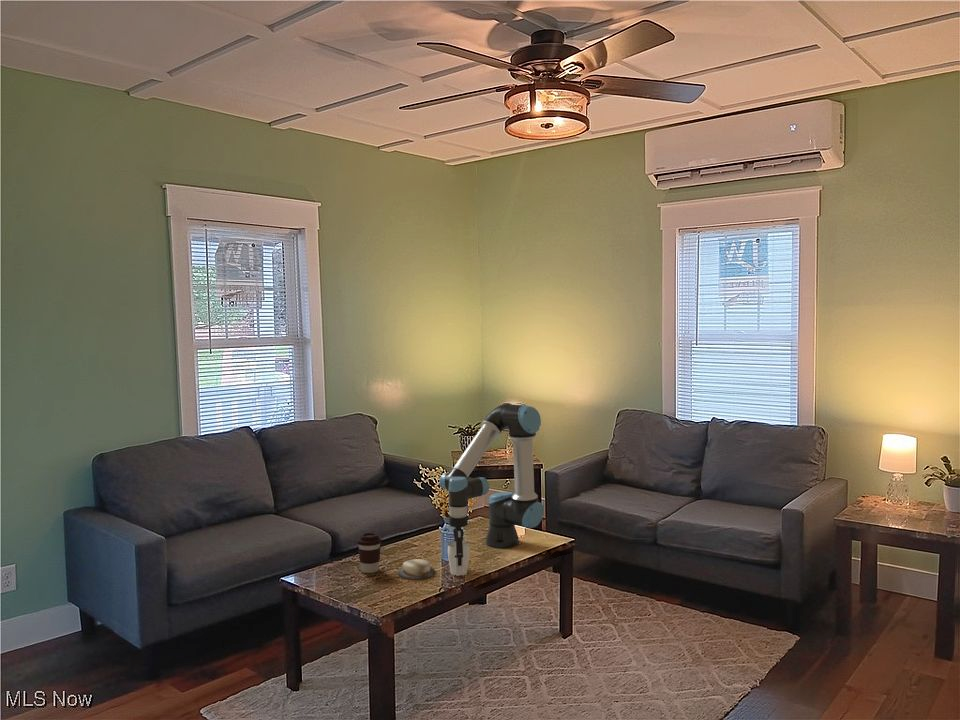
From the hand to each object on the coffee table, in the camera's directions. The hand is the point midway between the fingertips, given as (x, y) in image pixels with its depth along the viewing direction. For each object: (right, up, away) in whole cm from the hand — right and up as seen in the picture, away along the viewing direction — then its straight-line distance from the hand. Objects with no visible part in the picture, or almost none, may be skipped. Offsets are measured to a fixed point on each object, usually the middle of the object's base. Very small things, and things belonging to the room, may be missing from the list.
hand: (458, 567), depth 320 cm
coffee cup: (-37, -3, +4) cm, 37 cm away
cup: (0, -3, 0) cm, 3 cm away
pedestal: (-17, -2, 0) cm, 17 cm away
